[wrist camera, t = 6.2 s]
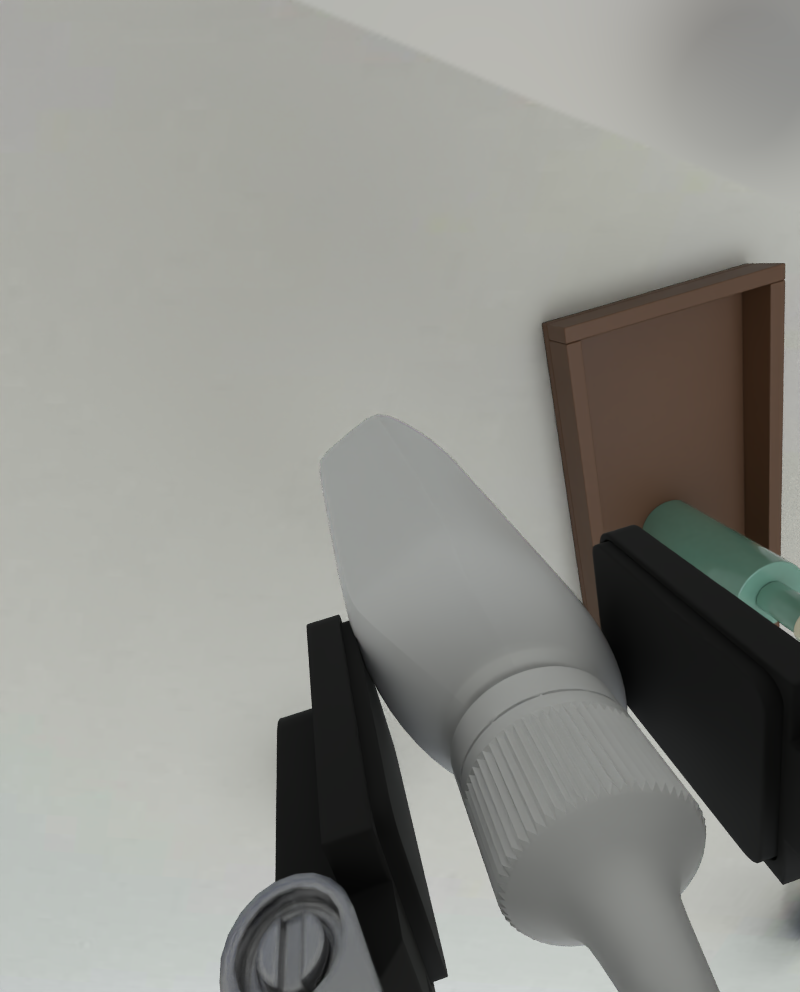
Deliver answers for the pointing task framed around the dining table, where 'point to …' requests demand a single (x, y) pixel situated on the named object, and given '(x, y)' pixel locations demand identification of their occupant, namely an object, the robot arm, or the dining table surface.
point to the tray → (673, 407)
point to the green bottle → (730, 560)
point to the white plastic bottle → (515, 709)
